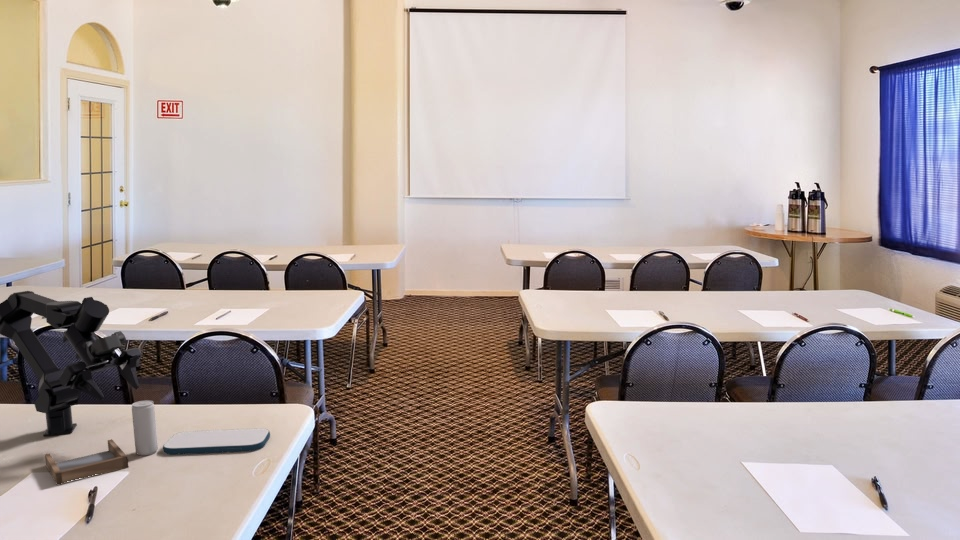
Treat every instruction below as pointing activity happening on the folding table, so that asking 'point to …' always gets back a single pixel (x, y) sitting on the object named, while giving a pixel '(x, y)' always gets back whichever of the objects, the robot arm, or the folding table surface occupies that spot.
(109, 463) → the bay
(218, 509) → the folding table surface
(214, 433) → the external hard drive
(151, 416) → the beverage can
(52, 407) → the robot arm
